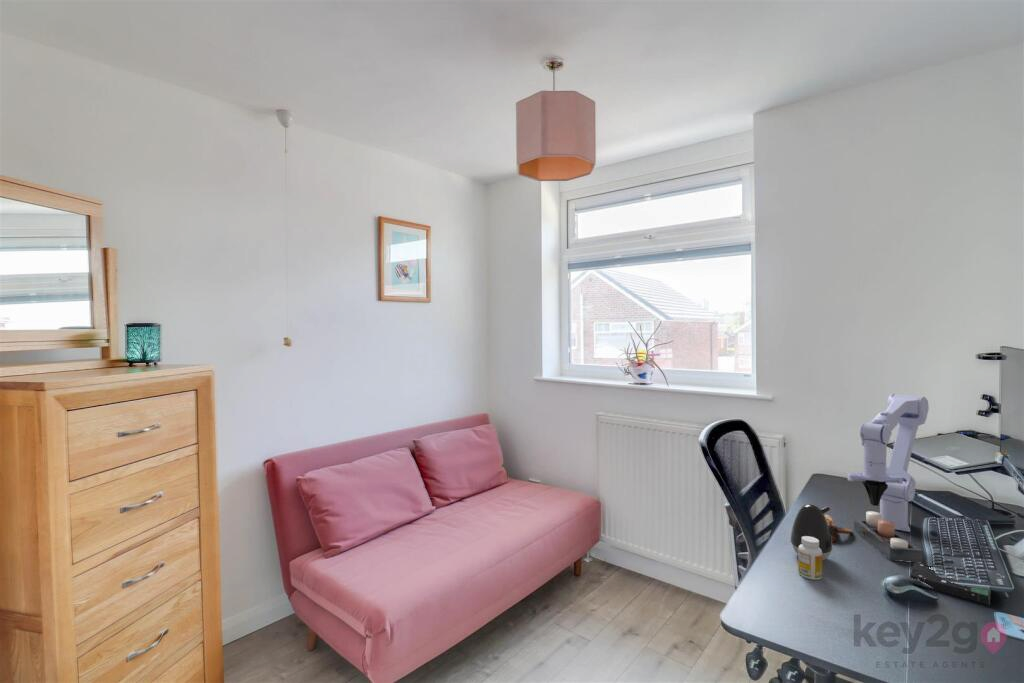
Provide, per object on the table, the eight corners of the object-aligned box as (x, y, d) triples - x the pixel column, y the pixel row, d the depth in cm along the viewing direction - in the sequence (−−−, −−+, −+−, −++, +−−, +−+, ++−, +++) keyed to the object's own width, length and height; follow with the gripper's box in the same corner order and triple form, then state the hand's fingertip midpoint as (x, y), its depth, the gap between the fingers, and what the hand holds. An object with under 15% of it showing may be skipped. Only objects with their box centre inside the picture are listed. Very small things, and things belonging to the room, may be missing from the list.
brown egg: (874, 532, 148) (875, 519, 148) (889, 533, 147) (890, 520, 147) (881, 537, 144) (882, 524, 144) (897, 538, 144) (897, 525, 143)
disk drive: (909, 585, 125) (991, 607, 114) (909, 574, 125) (990, 596, 114) (914, 571, 132) (991, 590, 122) (914, 561, 132) (991, 579, 122)
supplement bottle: (818, 572, 131) (819, 536, 130) (824, 581, 126) (824, 544, 125) (796, 568, 132) (796, 533, 132) (800, 578, 127) (801, 541, 127)
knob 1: (863, 523, 155) (863, 510, 155) (877, 524, 154) (877, 511, 154) (869, 528, 151) (870, 515, 151) (884, 529, 150) (884, 516, 150)
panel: (854, 530, 157) (854, 519, 157) (882, 532, 155) (882, 521, 155) (889, 560, 137) (890, 548, 137) (922, 563, 135) (922, 550, 135)
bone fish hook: (856, 549, 145) (849, 526, 161) (857, 534, 145) (850, 512, 160) (819, 542, 150) (816, 520, 165) (820, 527, 149) (817, 506, 165)
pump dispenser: (842, 565, 134) (842, 510, 134) (806, 566, 134) (806, 511, 133) (816, 548, 144) (816, 497, 144) (782, 549, 144) (783, 498, 143)
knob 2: (887, 550, 142) (887, 537, 141) (903, 552, 141) (903, 538, 141) (894, 557, 138) (895, 543, 138) (911, 558, 137) (911, 544, 137)
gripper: (854, 463, 150) (854, 507, 150) (908, 466, 147) (908, 510, 147) (844, 457, 157) (843, 499, 157) (895, 460, 154) (895, 502, 154)
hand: (874, 504), depth 153 cm, fingers closed
